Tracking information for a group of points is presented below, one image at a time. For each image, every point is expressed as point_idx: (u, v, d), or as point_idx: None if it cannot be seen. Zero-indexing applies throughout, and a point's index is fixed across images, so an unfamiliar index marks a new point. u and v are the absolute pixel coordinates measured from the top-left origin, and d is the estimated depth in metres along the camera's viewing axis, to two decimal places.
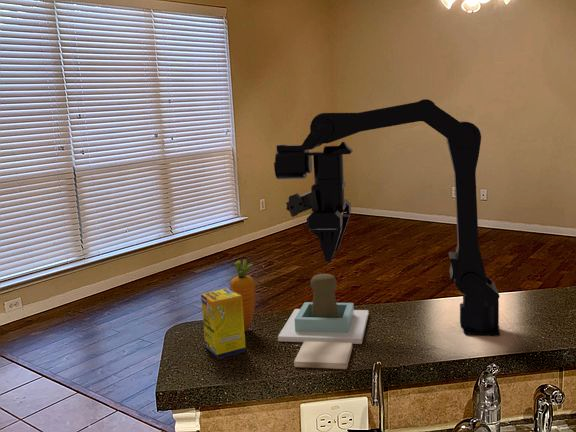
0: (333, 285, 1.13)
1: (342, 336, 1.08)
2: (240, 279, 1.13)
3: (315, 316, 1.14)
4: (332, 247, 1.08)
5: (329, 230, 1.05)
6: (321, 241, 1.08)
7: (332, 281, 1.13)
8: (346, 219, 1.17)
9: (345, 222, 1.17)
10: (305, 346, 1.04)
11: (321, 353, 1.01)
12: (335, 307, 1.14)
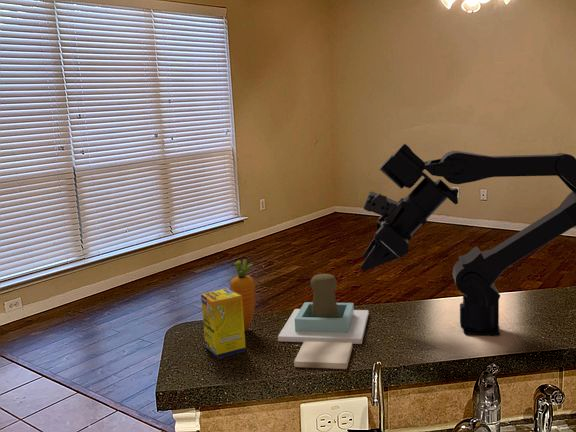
0: (333, 285, 1.13)
1: (342, 336, 1.08)
2: (240, 279, 1.13)
3: (315, 316, 1.14)
4: (377, 262, 1.06)
5: (390, 251, 1.03)
6: (374, 251, 1.05)
7: (332, 281, 1.13)
8: None
9: None
10: (305, 346, 1.04)
11: (321, 353, 1.01)
12: (335, 307, 1.14)
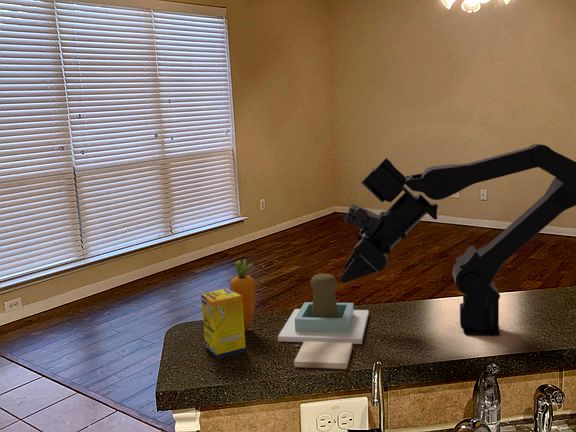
0: (333, 285, 1.13)
1: (342, 336, 1.08)
2: (240, 279, 1.13)
3: (315, 316, 1.14)
4: (355, 275, 1.07)
5: (369, 265, 1.04)
6: (353, 264, 1.06)
7: (332, 281, 1.13)
8: None
9: None
10: (305, 346, 1.04)
11: (321, 353, 1.01)
12: (335, 307, 1.14)
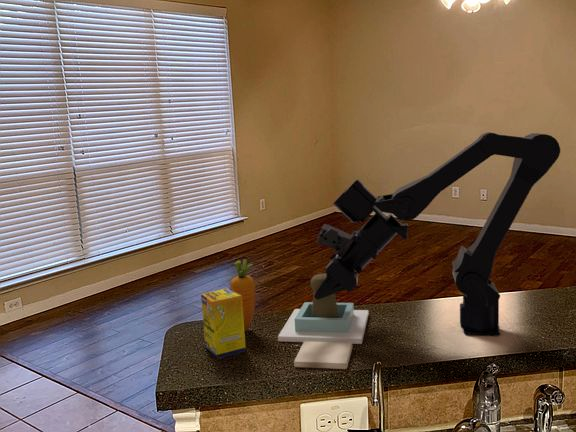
0: None
1: (342, 336, 1.08)
2: (240, 279, 1.13)
3: (315, 316, 1.14)
4: (329, 291, 1.11)
5: None
6: (326, 281, 1.10)
7: None
8: None
9: None
10: (305, 346, 1.04)
11: (321, 353, 1.01)
12: (335, 307, 1.14)
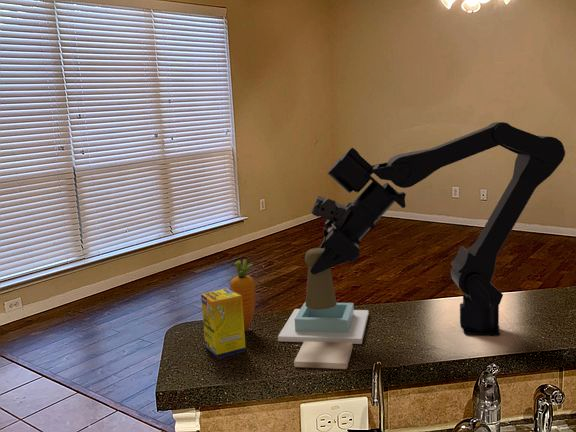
0: None
1: (342, 336, 1.08)
2: (240, 279, 1.13)
3: (311, 292, 1.09)
4: (326, 265, 1.06)
5: (340, 254, 1.03)
6: (323, 255, 1.05)
7: None
8: None
9: None
10: (305, 346, 1.04)
11: (321, 353, 1.01)
12: (331, 282, 1.09)
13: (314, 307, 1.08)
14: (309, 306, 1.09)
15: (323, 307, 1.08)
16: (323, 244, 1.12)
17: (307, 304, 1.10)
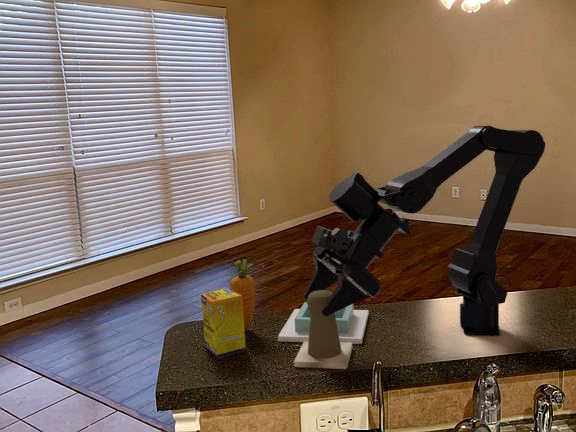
0: None
1: (342, 336, 1.08)
2: (240, 279, 1.13)
3: (318, 340, 0.99)
4: (341, 305, 0.95)
5: (361, 291, 0.93)
6: (339, 293, 0.94)
7: None
8: (336, 279, 1.06)
9: (334, 281, 1.05)
10: (305, 346, 1.04)
11: None
12: (336, 326, 1.01)
13: (322, 356, 0.99)
14: (316, 355, 0.99)
15: (332, 355, 0.99)
16: (317, 275, 1.04)
17: (312, 353, 0.99)
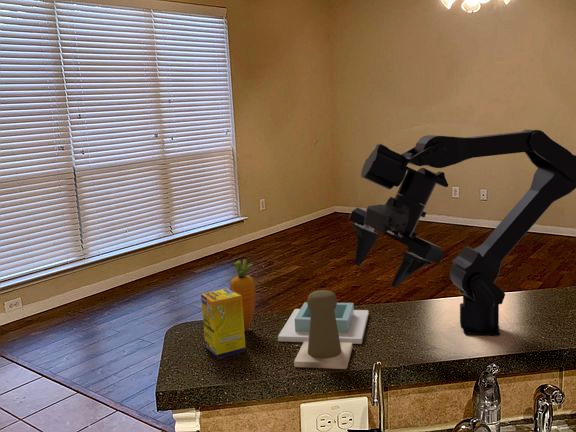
0: (336, 302, 0.99)
1: (342, 336, 1.08)
2: (240, 279, 1.13)
3: (318, 340, 0.99)
4: (407, 274, 1.03)
5: (427, 262, 1.01)
6: (407, 268, 1.01)
7: (335, 298, 0.99)
8: (376, 236, 1.11)
9: (375, 239, 1.11)
10: (305, 346, 1.04)
11: None
12: (336, 326, 1.01)
13: (322, 356, 0.99)
14: (316, 355, 0.99)
15: (332, 355, 0.99)
16: (363, 242, 1.09)
17: (312, 353, 0.99)
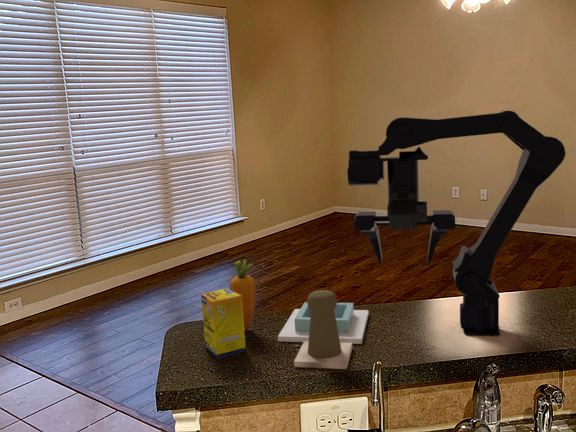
0: (336, 302, 0.99)
1: (342, 336, 1.08)
2: (240, 279, 1.13)
3: (318, 340, 0.99)
4: None
5: None
6: None
7: (335, 298, 0.99)
8: None
9: (378, 232, 1.14)
10: (305, 346, 1.04)
11: None
12: None
13: (322, 356, 0.99)
14: (316, 355, 0.99)
15: (332, 355, 0.99)
16: (378, 242, 1.10)
17: (312, 353, 0.99)
